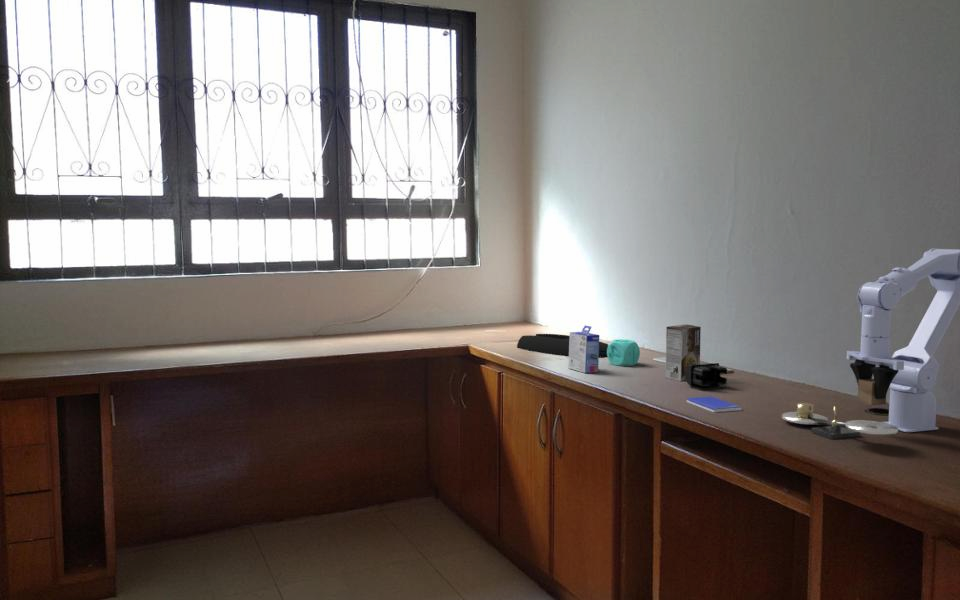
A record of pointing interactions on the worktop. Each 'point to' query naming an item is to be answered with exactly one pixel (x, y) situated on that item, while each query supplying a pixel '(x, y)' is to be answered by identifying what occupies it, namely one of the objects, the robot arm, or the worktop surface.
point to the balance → (837, 424)
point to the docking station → (552, 344)
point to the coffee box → (681, 350)
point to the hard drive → (713, 404)
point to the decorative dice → (623, 352)
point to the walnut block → (868, 392)
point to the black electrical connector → (705, 376)
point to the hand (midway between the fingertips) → (872, 396)
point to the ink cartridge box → (584, 351)
